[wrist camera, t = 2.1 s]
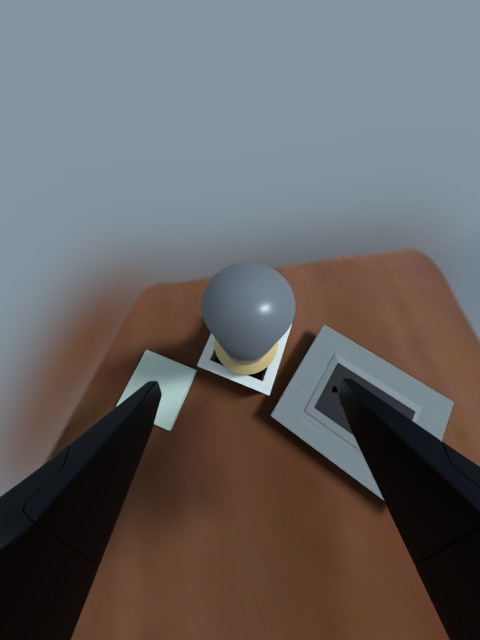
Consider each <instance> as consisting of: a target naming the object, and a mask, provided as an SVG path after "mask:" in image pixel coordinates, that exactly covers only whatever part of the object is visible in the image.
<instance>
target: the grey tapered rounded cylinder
mask: <svg viewBox="0 0 480 640" xmlns="http://www.w3.org/2000/svg"><path fill="white" fill-rule="evenodd" d="M201 307H202V315H203V319H204V322H205V324H206V326H207V327H208V329H209V330H210V332H211V333H212V335H213V336H214V337H215V339H214V347H215V352H216V355H217V357H218V359H219V360H220V362H221V363H222V364H223V365H224V366H225V367H226V368H227V369H229V370H230V371H232V372H234V373H237V374H242V375H251V374H255V373H258V372H260V371H262V370H264V369H265V368H266V367H268V366H269V365H270V364H271V362H272V361H273V359H274V358H275V355H276V353H277V349H278V341H279V340H280V339H281V337H282V336H283V335H284V334H285V333H286V332H287V330H288V329H289V327H290V326H291V324H292V321H293V319H294V315H295V298H294V294H293V291H292V289H291V287H290V285H289V284H288V282H287V281H286V280H285V279H284V277H283V276H282V275H280V274H279V273H278V272H277V271H275V270H274V269H272V268H270V267H268V266H265V265H262V264H257V263H239V264H234V265H232V266H229V267H227V268H225V269H223V270H221V271H220V272H218V273H217V274H216V275H215V276H214V277H213V278H212V279H211V280H210V282H209V283H208V285H207V286H206V288H205V291H204V293H203V297H202V304H201Z"/></svg>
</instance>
